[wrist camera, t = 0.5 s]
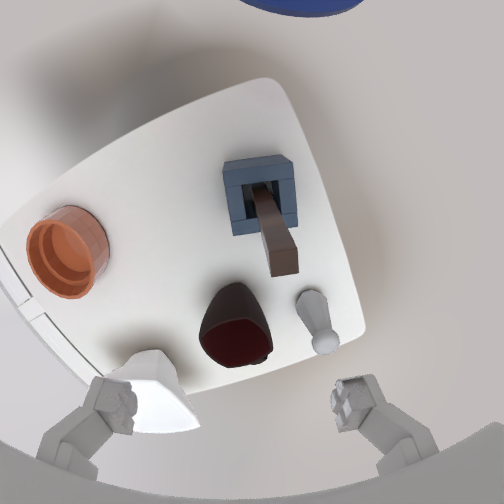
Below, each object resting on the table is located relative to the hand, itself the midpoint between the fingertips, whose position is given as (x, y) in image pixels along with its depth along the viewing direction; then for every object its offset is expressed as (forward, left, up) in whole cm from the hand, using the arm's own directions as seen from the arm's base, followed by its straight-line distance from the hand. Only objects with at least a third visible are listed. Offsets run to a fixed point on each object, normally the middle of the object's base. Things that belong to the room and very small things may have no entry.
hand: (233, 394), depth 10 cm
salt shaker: (+23, +11, -35) cm, 43 cm away
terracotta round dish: (+5, -29, -35) cm, 46 cm away
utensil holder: (+1, +4, -35) cm, 35 cm away
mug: (+22, -2, -35) cm, 41 cm away
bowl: (+35, -23, -35) cm, 54 cm away
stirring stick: (+1, +4, -35) cm, 35 cm away
